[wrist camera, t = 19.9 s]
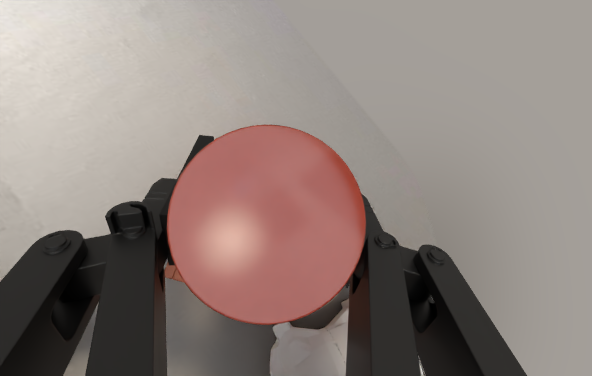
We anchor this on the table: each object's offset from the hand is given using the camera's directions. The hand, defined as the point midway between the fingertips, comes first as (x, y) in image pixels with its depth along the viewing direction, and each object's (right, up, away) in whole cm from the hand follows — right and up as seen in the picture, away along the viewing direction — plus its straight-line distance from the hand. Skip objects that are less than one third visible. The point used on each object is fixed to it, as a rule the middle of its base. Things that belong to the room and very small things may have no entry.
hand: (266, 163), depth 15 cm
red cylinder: (0, -4, +1) cm, 4 cm away
